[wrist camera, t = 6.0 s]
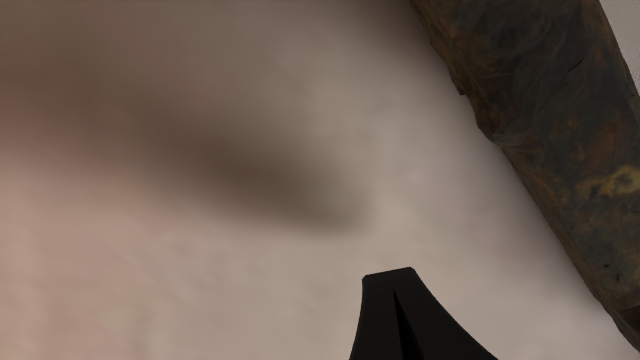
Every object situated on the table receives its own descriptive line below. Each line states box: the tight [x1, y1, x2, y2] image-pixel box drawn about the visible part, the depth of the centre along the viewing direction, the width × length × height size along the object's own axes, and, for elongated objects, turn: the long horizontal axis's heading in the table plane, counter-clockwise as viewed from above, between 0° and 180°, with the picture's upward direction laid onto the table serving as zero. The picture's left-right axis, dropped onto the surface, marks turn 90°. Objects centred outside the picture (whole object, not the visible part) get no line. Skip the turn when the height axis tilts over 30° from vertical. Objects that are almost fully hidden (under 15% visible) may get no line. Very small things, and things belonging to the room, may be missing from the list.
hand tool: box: [410, 0, 640, 352], centre depth 13 cm, size 19×4×5 cm, turn 33°
